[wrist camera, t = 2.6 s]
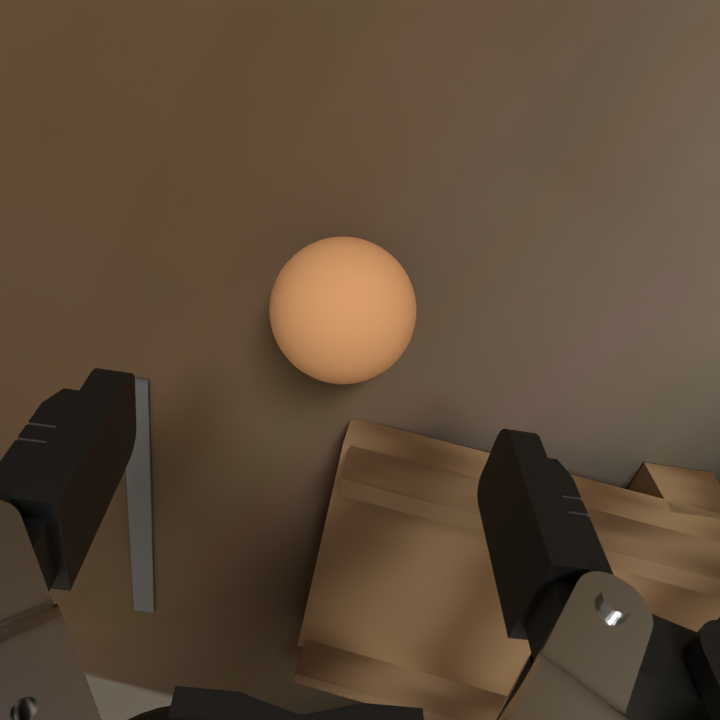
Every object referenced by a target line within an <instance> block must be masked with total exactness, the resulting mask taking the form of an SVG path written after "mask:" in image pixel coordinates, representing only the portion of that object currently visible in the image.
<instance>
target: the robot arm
mask: <svg viewBox="0 0 720 720" xmlns="http://www.w3.org/2000/svg"><path fill="white" fill-rule="evenodd" d="M136 429H137V426H136V393H135V377H134V375H133V374H132V373H126V372H119V371H112V370H105V369H98V368H95V369H94V370H93V371H92V372H91V373H90V375H89V376H88V378H87V380H86V381H85V383H84V384H83V386H82V387H81V389H80V390H79V391H78V390H71V389H62V390H61V391H59V392H58V393H56V394H55V395H53V396H52V397H50V398H49V399H47V400H46V401H44V402H43V403H41V405H40V406H39V408H38V409H37V410H36V412H35V413H34V415H33V416H32V417H31V419H30V420H29V424H28V425H26V426H25V427H24V429H23V430H22V432H21V433H20V434H19V436H18V440H15V441H14V443H13V444H12V446H11V447H10V448H9V450H8V451H7V453H6V454H5V456H4V457H3V458H2V460H1V461H0V720H101V717H100V714H99V712H98V709H97V706H96V704H95V701H94V698H93V696H92V693H91V690H90V688H89V685H88V682H87V680H86V677H85V674H84V672H83V669H82V666H81V664H80V661H79V658H78V656H77V653H76V650H75V648H74V645H73V642H72V640H71V637H70V634H69V632H68V629H67V626H66V624H65V621H64V618H63V616H62V613H61V611H60V609H59V607H58V605H57V604H55V605H54V603H53V601H52V599H51V596H50V593H49V591H50V589H51V588H52V589H62V590H71V588H72V586H73V583H74V581H75V579H76V577H77V575H78V572H79V570H80V568H81V566H82V564H83V561H84V559H85V557H86V555H87V553H88V550H89V548H90V546H91V544H92V541H93V539H94V537H95V535H96V533H97V530H98V528H99V526H100V524H101V522H102V519H103V517H104V515H105V513H106V511H107V508H108V506H109V504H110V502H111V500H112V497H113V495H114V493H115V491H116V489H117V486H118V484H119V482H120V480H121V478H122V475H123V473H124V471H125V469H126V466H127V464H128V462H129V460H130V458H131V455H132V452H133V449H134V444H135V439H136ZM477 500H478V506H479V511H480V515H481V520H482V524H483V529H484V533H485V538H486V542H487V547H488V551H489V555H490V560H491V564H492V569H493V573H494V578H495V582H496V587H497V591H498V596H499V600H500V604H501V609H502V613H503V618H504V622H505V627H506V631H507V636H508V638H512V639H522V640H528V642H529V646H530V650H531V654H530V655H529V657H528V658H527V660H526V661H525V663H524V665H523V667H522V669H521V671H520V673H519V675H518V677H517V678H516V680H515V682H514V684H513V686H512V688H511V690H510V692H509V694H508V696H507V697H506V699H505V701H504V703H503V705H502V707H501V709H500V711H499V713H498V714H497V716H496V718H495V720H720V620H711V621H708V622H706V623H705V624H704V625H703V626H702V627H701V628H700V629H699V630H698V632H695V631H693V630H690V629H688V628H685V627H683V626H680V625H678V624H676V623H673V622H671V621H668V620H666V619H663V618H661V617H659V616H656V615H654V614H652V613H651V611H650V608H649V606H648V605H647V603H646V601H645V600H644V598H643V597H642V596H641V595H640V594H639V592H638V591H637V590H636V589H634V588H633V587H632V586H631V585H630V584H628V583H627V582H626V581H624V580H622V579H621V578H619V577H617V576H614V574H613V572H612V569H611V567H610V565H609V562H608V560H607V558H606V555H605V553H604V550H603V548H602V546H601V543H600V541H599V539H598V536H597V534H596V531H595V529H594V527H593V524H592V522H591V519H590V517H588V516H587V513H588V512H587V510H586V508H585V505H584V503H583V501H581V496H580V493H579V491H578V488H577V486H576V484H575V481H574V479H573V477H572V476H571V475H570V474H569V472H568V471H567V470H566V469H565V468H564V467H563V466H562V464H561V463H560V462H559V461H558V460H557V459H551V458H547V455H546V453H545V450H544V447H543V445H542V442H541V440H540V437H539V436H538V435H537V434H536V433H530V432H523V431H516V430H509V429H503V430H501V431H500V433H499V434H498V436H497V438H496V441H495V443H494V445H493V448H492V450H491V452H490V455H489V457H488V459H487V462H486V464H485V466H484V469H483V471H482V473H481V476H480V479H479V483H478V490H477ZM128 720H424V715H423V708H415V707H404V706H393V705H381V704H370V703H362V704H356V705H351V706H346V707H341V708H336V709H331V710H326V711H321V712H316V713H311V714H304V715H302V714H296V713H293V712H290V711H288V710H285V709H282V708H280V707H277V706H275V705H272V704H269V703H267V702H264V701H261V700H259V699H256V698H254V697H251V696H248V695H246V694H243V693H240V692H235V691H224V690H213V689H202V688H190V687H179V686H176V687H175V691H174V695H173V699H172V703H171V706H166V707H161V708H157V709H154V710H151V711H148V712H144V713H141V714H139V715H137V716H135V717H133V718H130V719H128Z"/></svg>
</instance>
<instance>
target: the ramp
mask: <svg viewBox="0 0 720 720" xmlns="http://www.w3.org/2000/svg"><path fill="white" fill-rule="evenodd" d="M489 455H490V453H487V452H483V451H479V450H475V449H471V448H468V447H464V446H460V445H456V444H452V443H449V442H445V441H441V440H437V439H433V438H430V437H426V436H422V435H418V434H414V433H411V432H407V431H403V430H399V429H395V428H392V427H388V426H384V425H380V424H376V423H373V422H368V421H361V420H354V419H351V420H350V423H349V426H348V429H347V433H346V436H345V439H344V442H343V446H342V451H341V455H340V460H339V464H338V469H337V473H336V477H335V482H334V486H333V491H332V495H331V499H330V504H329V508H328V513H327V517H326V522H325V526H324V530H323V535H322V539H321V544H320V548H319V553H318V557H317V561H316V566H315V570H314V575H313V579H312V583H311V588H310V592H309V597H308V601H307V606H306V610H305V614H304V619H303V623H302V628H301V632H300V637H299V641H298V645H297V646H299V647H302V652H301V655H300V659H299V663H298V666H297V670H296V674H295V678H294V683H297V684H301V685H304V686H308V687H311V688H315V689H318V690H322V691H325V692H329V693H332V694H336V695H339V696H343V697H346V698H350V699H353V700H357V701H360V702H364V703H370V704H381V705H393V706H404V707H415V708H423V715H424V720H495V718H496V716H497V714H498V713H499V711H500V709H501V707H502V705H503V703H504V701H505V699H506V697H507V696H508V694H509V692H510V690H511V688H512V686H513V684H514V682H515V680H516V678H517V677H518V675H519V673H520V671H521V669H522V667H523V665H524V663H525V661H526V660H527V658H528V657H529V655H530V654H531V650H530V646H529V642H528V640H522V639H512V638H508V636H507V631H506V627H505V622H504V618H503V613H502V609H501V604H500V600H499V596H498V591H497V587H496V582H495V578H494V573H493V569H492V564H491V560H490V555H489V551H488V547H487V542H486V538H485V533H484V529H483V524H482V520H481V515H480V511H479V506H478V500H477V490H478V483H479V479H480V476H481V473H482V471H483V469H484V466H485V464H486V462H487V459H488V457H489ZM571 476H572V477H573V479H574V481H575V484H576V486H577V488H578V491H579V493H580V496H581V501H583V503H584V505H585V508H586V510H587V512H588V513H587V516H588V517H590V519H591V522H592V524H593V527H594V529H595V531H596V534H597V536H598V539H599V541H600V543H601V546H602V548H603V550H604V553H605V555H606V558H607V560H608V562H609V565H610V567H611V569H612V572H613V574H614V576H617V577H619V578H621V579H622V580H624V581H626V582H627V583H628V584H630V585H631V586H632V587H633V588H634V589H636V590H637V591H638V592H639V594H640V595H641V596H642V597H643V598H644V600H645V601H646V603H647V605H648V606H649V608H650V611H651V613H652V614H654V615H656V616H659V617H661V618H663V619H666V620H668V621H671V622H673V623H676V624H678V625H680V626H683V627H685V628H688V629H690V630H693V631H695V632H698V630H699V629H700V628H701V627H702V626H703V625H704V624H705V623H706V622H708V621H711V620H717V619H718V618H719V617H720V484H719V483H718V481H717V480H716V478H715V477H714V475H713V474H712V472H706V471H699V470H692V469H685V468H678V467H671V466H665V465H658V464H651V463H644V464H643V465H642V467H641V468H640V470H639V472H638V473H637V475H636V476H635V478H634V479H633V481H632V483H631V484H630V486H629V487H628V489H624V488H620V487H616V486H612V485H609V484H605V483H601V482H597V481H593V480H589V479H586V478H582V477H578V476H574V475H571Z"/></svg>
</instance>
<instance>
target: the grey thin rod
mask: <svg viewBox="0 0 720 720" xmlns="http://www.w3.org/2000/svg"><path fill="white" fill-rule="evenodd" d="M135 393H136V426H137V429H136V439H135V444H134V449H133V452H132V455H131V458H130V460H129V462H128V464H127V466H126V484H127V501H128V518H129V535H130V551H131V568H132V585H133V602H134V610H135V611H144V612H154V611H155V598H154V558H153V518H152V478H151V437H150V397H149V380H146V379H139V378H135Z"/></svg>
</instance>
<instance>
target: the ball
mask: <svg viewBox="0 0 720 720" xmlns="http://www.w3.org/2000/svg"><path fill="white" fill-rule="evenodd" d="M269 314H270V323H271V328H272V332H273V335H274V337H275V339H276V342H277V344H278V346H279V348H280V349H281V351H282V352H283V354H284V355H285V356H286V357H287V359H288V360H289V361H290V362H291V363H292V364H293V365H294V366H295V367H296V368H298V369H299V370H300V371H302V372H303V373H305V374H307V375H309V376H310V377H313V378H315V379H317V380H320V381H323V382H328V383H333V384H353V383H358V382H363V381H366V380H369V379H371V378H373V377H376V376H378V375H380V374H381V373H383V372H384V371H386V370H387V369H388V368H389V367H391V366H392V365H393V364H394V363H395V362H396V361H397V360H398V359H399V358H400V356H401V355H402V354H403V352H404V351H405V349H406V347H407V345H408V344H409V342H410V340H411V337H412V334H413V331H414V327H415V322H416V299H415V294H414V291H413V287H412V284H411V282H410V279H409V277H408V275H407V274H406V272H405V271H404V269H403V267H402V266H401V265H400V264H399V262H398V261H397V260H396V259H395V258H394V257H393V256H392V255H391V254H390V253H388V252H387V251H385V250H384V249H383V248H381V247H379V246H377V245H376V244H374V243H372V242H369V241H366V240H363V239H359V238H354V237H332V238H326V239H323V240H319V241H317V242H314V243H312V244H310V245H308V246H306V247H304V248H303V249H301V250H300V251H299V252H297V253H296V254H295V255H294V256H293V257H292V258H291V259H290V260H289V261H288V262H287V263H286V264H285V266H284V267H283V268H282V270H281V271H280V273H279V275H278V277H277V279H276V281H275V283H274V286H273V289H272V292H271V298H270V306H269Z"/></svg>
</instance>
